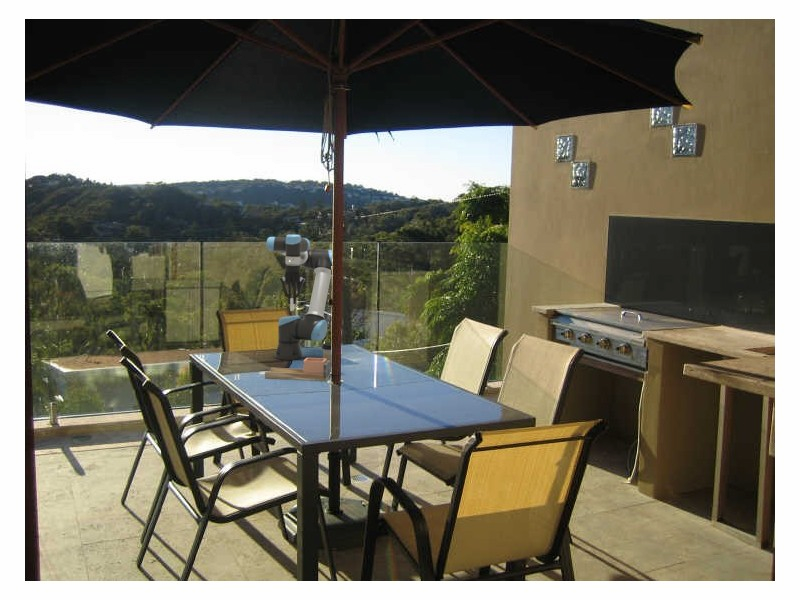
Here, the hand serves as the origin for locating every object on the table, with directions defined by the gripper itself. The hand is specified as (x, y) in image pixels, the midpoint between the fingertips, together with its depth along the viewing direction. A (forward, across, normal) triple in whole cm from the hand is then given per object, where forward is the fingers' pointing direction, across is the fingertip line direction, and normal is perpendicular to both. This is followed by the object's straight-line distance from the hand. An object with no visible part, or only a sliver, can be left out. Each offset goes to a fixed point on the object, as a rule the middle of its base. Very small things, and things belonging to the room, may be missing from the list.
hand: (292, 310), depth 425 cm
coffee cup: (+31, +22, -8) cm, 39 cm away
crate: (+29, +16, -21) cm, 39 cm away
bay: (+30, +8, -21) cm, 38 cm away
